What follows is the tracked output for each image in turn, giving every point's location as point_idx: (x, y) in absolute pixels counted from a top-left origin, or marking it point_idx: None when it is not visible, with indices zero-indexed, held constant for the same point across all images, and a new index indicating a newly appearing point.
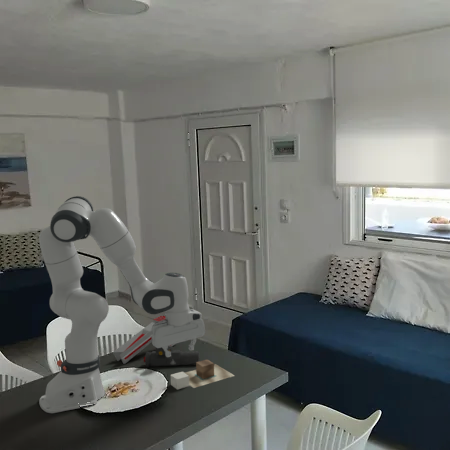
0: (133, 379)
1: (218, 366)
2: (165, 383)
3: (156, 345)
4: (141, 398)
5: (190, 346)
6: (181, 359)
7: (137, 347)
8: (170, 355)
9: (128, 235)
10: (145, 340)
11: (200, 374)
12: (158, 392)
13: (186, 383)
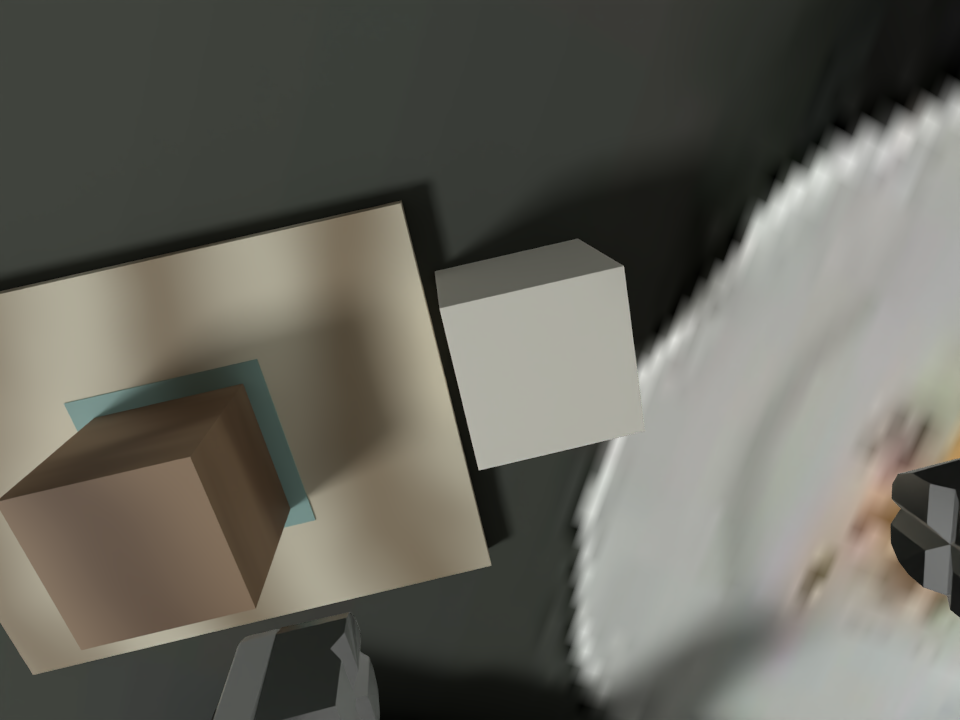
0: (825, 627)
1: (8, 618)
2: (617, 471)
3: None
4: (928, 249)
5: (334, 710)
6: None
7: None
8: (939, 473)
9: None
10: None
11: (252, 448)
12: (744, 311)
13: (473, 279)
